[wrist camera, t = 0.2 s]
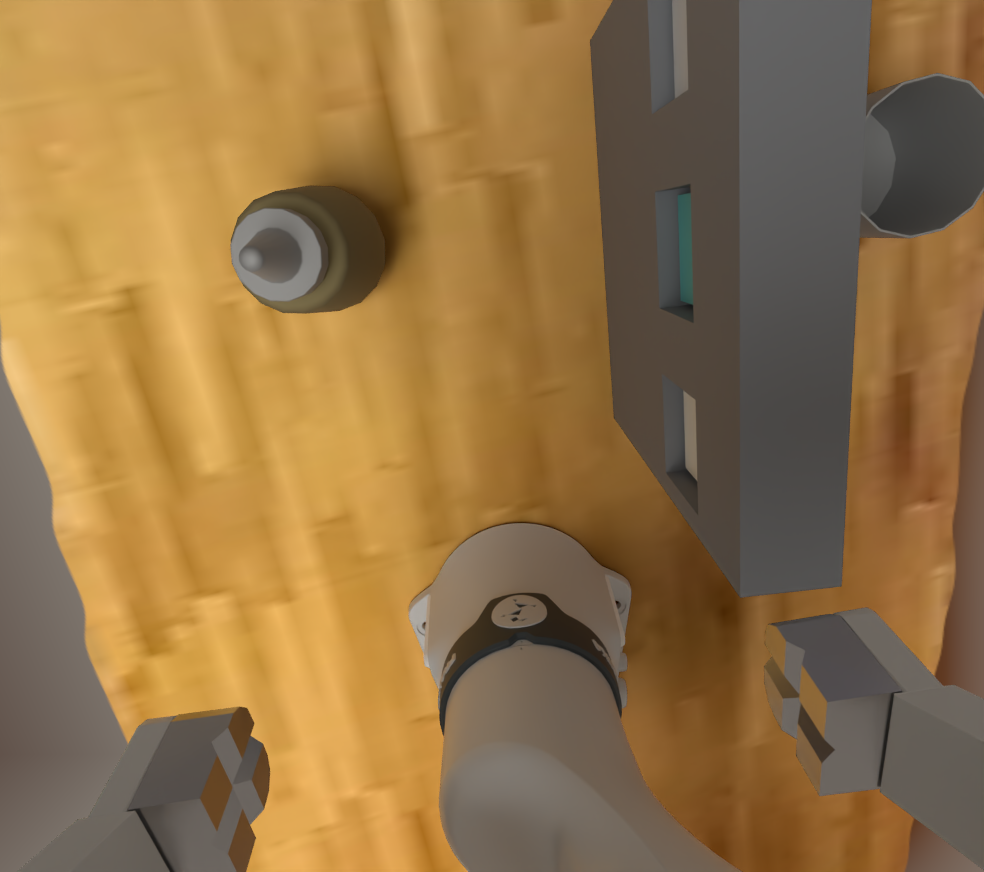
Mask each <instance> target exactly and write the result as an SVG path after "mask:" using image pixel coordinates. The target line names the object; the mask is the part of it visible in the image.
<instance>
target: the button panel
mask: <svg viewBox="0 0 984 872" xmlns="http://www.w3.org/2000/svg"><path fill="white" fill-rule="evenodd" d="M871 6H872V0H686V13H687V57H688V90H687V91H685V92H684V93H682V94H681V95H680V96H678V97H677V98H675V86H674V51H673V16H672V0H613V1H612V3H611V5H610V7H609V9H608V10H607V12H606V14H605V16H604V17H603V19H602V21H601V23H600V24H599V26H598V28H597V30H596V32H595V33H594V35H593V37H592V39H591V40H590V46H591V62H592V78H593V94H594V110H595V126H596V142H597V157H598V173H599V189H600V205H601V221H602V237H603V253H604V269H605V284H606V300H607V316H608V332H609V348H610V364H611V380H612V395H613V411H614V419H615V420H616V422H617V423H618V424H619V426H620V427H621V429H622V430H623V431H624V433H625V434H626V436H627V437H628V439H629V440H630V441H631V443H632V444H633V446H634V447H635V449H636V450H637V451H638V453H639V454H640V456H641V457H642V458H643V460H644V461H645V463H646V464H647V466H648V467H649V468H650V470H651V471H652V473H653V474H654V476H655V477H656V478H657V480H658V481H659V483H660V484H661V486H662V487H663V488H664V490H665V491H666V493H667V494H668V495H669V497H670V498H671V500H672V501H673V503H674V504H675V505H676V507H677V508H678V510H679V511H680V513H681V514H682V515H683V517H684V518H685V520H686V521H687V522H688V524H689V525H690V527H691V528H692V530H693V531H694V532H695V534H696V535H697V537H698V538H699V540H700V541H701V542H702V544H703V545H704V547H705V548H706V550H707V551H708V552H709V554H710V555H711V557H712V558H713V559H714V561H715V562H716V564H717V565H718V567H719V568H720V569H721V571H722V572H723V574H724V575H725V577H726V578H727V579H728V581H729V582H730V584H731V585H732V586H733V588H734V589H735V591H736V592H737V594H738V595H739V596H740V598H741V597H750V596H759V595H768V594H777V593H786V592H795V591H804V590H813V589H823V588H832V587H841V586H842V567H843V548H844V528H845V509H846V490H847V470H848V451H849V432H850V412H851V393H852V374H853V354H854V335H855V316H856V296H857V277H858V258H859V238H860V219H861V200H862V180H863V161H864V142H865V122H866V103H867V84H868V64H869V45H870V26H871ZM688 193H691V229H692V272H693V305H692V304H689V303H686V302H683V301H681V293H680V258H679V224H678V195H682V194H688ZM683 391H685V392H686V393H687V394H688V395H690V396H691V397H692V398H693V399H695V401H696V444H697V480H696V479H695V478H694V477H693V476H692V474H691V473H690V472H689V471H688V470H687V469H686V466H685V431H684V397H683Z"/></svg>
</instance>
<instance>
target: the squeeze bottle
mask: <svg viewBox="0 0 984 872" xmlns="http://www.w3.org/2000/svg"><path fill="white" fill-rule="evenodd" d="M231 257H232V264H233V266H234V269H235V271H236V273H237V275H238V277H239V279H240V281H241V282H242V284H243V286H244V287H245V288H246V289H247V290H248V291H249V292H250V293H251V294H252V295H253V296H254V297H255V298H256V299H257V300H258V301H259V302H260V303H262V304H264V305H266V306H269V307H271V308H273V309H275V310H278V311H280V312H282V313H318V312H331V311H340V310H343V309H345V308H348V307H350V306H353V305H355V304H358V303H361V302H362V301H363V300H364V299H365V298H366V297H367V296H368V294H369V293H370V292H371V291H372V290H373V289H374V288H375V287H376V286H377V284H378V282H379V279H380V276H381V274H382V271H383V269H384V266H385V239H384V236H383V234H382V231H381V229H380V227H379V224H378V222H377V219H376V217H375V215H374V214H373V213H372V212H371V211H370V210H369V209H368V208H367V207H366V206H365V205H364V204H363V203H362V201H361V200H360V199H359V198H358V197H356V196H354V195H352V194H350V193H347V192H345V191H343V190H341V189H339V188H337V187H334V186H305V187H299V188H293V189H286V190H280V191H275V192H272V193H270V194H268V195H265V196H263V197H260V198H258V199H256V200H253V202H252V203H251V204H250V205H249V206H248V207H247V208H246V209H245V210H244V211H243V213H242V214H241V215H240V216H239V217H238V219H237V222H236V226H235V229H234V232H233V235H232V238H231Z"/></svg>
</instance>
